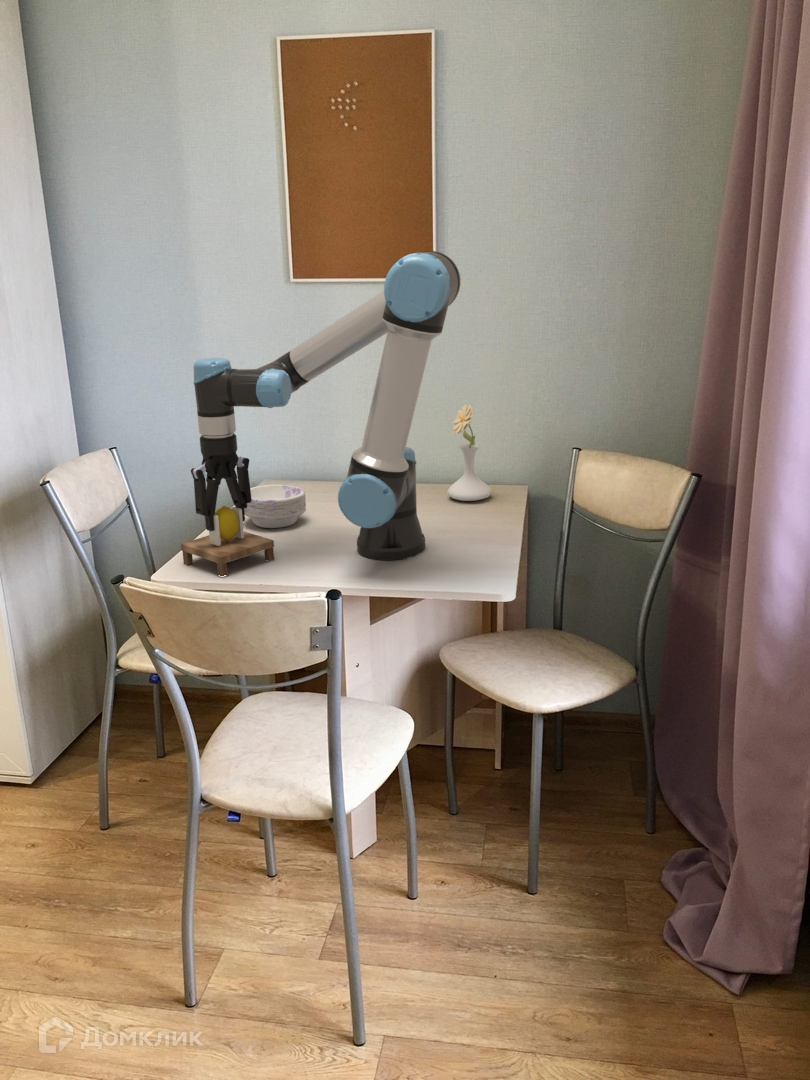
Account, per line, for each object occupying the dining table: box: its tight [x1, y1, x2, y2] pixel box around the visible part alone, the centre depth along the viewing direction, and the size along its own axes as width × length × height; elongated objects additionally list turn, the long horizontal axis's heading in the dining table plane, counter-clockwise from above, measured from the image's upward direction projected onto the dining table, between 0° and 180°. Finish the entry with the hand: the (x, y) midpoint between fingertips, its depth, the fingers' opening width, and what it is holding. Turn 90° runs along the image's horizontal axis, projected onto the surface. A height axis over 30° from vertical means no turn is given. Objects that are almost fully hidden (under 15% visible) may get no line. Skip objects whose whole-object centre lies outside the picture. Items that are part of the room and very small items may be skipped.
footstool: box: [180, 530, 275, 576], centre depth 211 cm, size 14×4×14 cm
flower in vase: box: [447, 403, 493, 502], centre depth 248 cm, size 13×11×25 cm
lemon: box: [215, 505, 239, 542], centre depth 209 cm, size 6×6×8 cm
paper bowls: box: [244, 484, 307, 529], centre depth 236 cm, size 15×15×8 cm
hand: (227, 540), depth 210 cm, fingers closed on lemon, 5 cm apart
